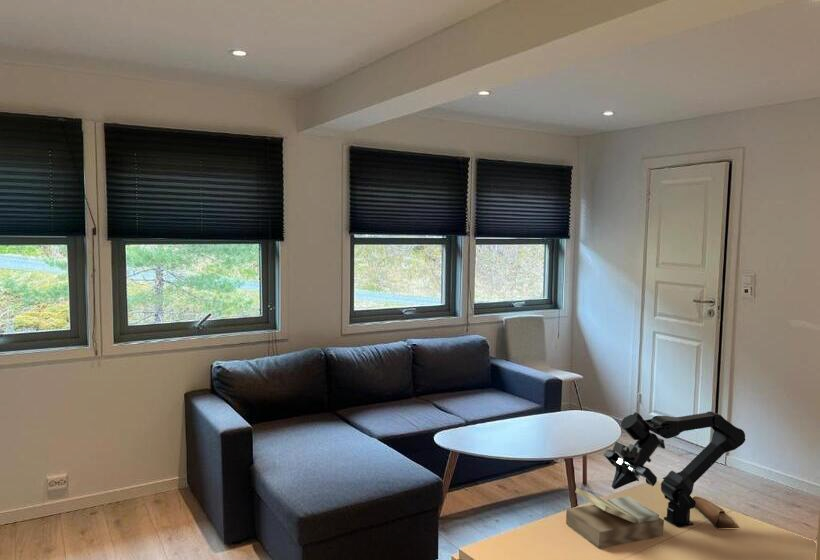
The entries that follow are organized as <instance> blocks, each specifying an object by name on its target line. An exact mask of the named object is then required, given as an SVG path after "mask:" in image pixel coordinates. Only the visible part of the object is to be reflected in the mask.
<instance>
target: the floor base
mask: <svg viewBox="0 0 820 560" xmlns="http://www.w3.org/2000/svg"><path fill="white" fill-rule="evenodd" d="M607 500H608V501H609V502H611V503H613V504H614V505H616V506H618V507H619V508H621V509H622V510H624V511H626V512H627V513H629V514H631V515H632V516H634V517H636V518H637V521H636V523H633V522H631V521H628V520H626V519H623V518H621V517H618V516H616V515H613V514H611V513H608V512H606V511H604V510H602V509H601V508H599V507H597V506H596V505H594V504H588V505H585V506H584V505H583V506H577V507H572V508H566V513H565V514H566V515H565V518H566V519H565V525H566V524H567V525H568V526H567V525H566V526H567V527H569V528H570V527H571V528H572V529H571V528H570V529H571V530H573V531H574V532H576V534H578V535H580V536H581V537H582V538H583V539H584V540H586V541H588V542H589V543H591V544H592V545H593V546H594V547H595V548H597V549H600V550H601V549H604V548H609V547H610V548H611V547H616V546H619V545H624V544H630V543H635V542H640V541H644V540H645V541H646V540H647V541H648V540H651V539H655V538H660V537H664V527H665V526H664V525H665V519H663V518H661V517H660V514H659V513H657V512H655V511H654V510H652V509H650V508H649V507H646V506H645V505H643V504H642V503H640V502H638V501H636V500H635V499H632V498H631V497H630V496H621V497H615V498H608V499H607Z"/></svg>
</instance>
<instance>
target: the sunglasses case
mask: <svg viewBox="0 0 820 560" xmlns="http://www.w3.org/2000/svg"><path fill="white" fill-rule="evenodd" d="M692 498H693V499H694V500H695V502H696V504H695V507H694V508H695V509H696V510H697V511H699V512H700V513H701V514H702V515H703V516H704V517H705V518H706V519H707V520H708V521H709V522H710V523H711V524H712V525H713V527H715V528H717V529H718V528H740V527H739V525H738V524H737V523H736V522H735V520H733V519H732V518H731V517H730V516H729V515H728V514H727V513H726V511H725V510H724V509H723V508H721V507H720V506H719V505H717V504H715V503H714V502H712V501H710V500H708V499H705V498H704V497H700V496H693V497H692ZM718 530H719V529H718Z"/></svg>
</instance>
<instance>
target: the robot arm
mask: <svg viewBox="0 0 820 560" xmlns="http://www.w3.org/2000/svg"><path fill="white" fill-rule="evenodd" d="M620 427H621V428H622V429H623V430H624V431H625V432H626V433H627V435H629V437H630V438H631V439H632V440H634V441H636V442H635V443H634V444H632V443H630V444H628V446H626V445H624V444H623V443H620V442H618V441H615V444H614V445H613V448H612V449H606V450H605V452H604V453H603V454H602V455H603V456H604V457H605V458H606V460H607V461H608V462H609V463H610V464H611V466H613V467H615V474H614V477H613V480H612V484H611V488H612V489H613V490H617V489H619V488H621V487H623V486H625V485H626V486H627V485H628V484H632V483H634V482H639V481H640V479H639V478H640V476H641V477H643V478H645V482H646V484H647V485H650V486H651V487H654V486H655V485H656V484H657V483H658V482H657V481H658V480H657V479H658V477H657V476H656V475H655V473H653V471H652V470H651V469H650V468H649V467H647V466H645V464H646V463H647V462H648V463H651V462H652V458H650V457H651V456H652V455H653V454H654V453H655V451H656V450H657V449H658V448H660V449H666V445H665V439H668V440H669V439H672V438H675V437H677V436H679V435H680V434H681V433H684V432H688V431H695V430H699V429H706V428H711V429H712V430H713V433H712V437H711V441H710V442H709V443H708V444H707V445H706V446H705V447H704V448H703V449H702V450H701V451H700V452H699V453H698V454H697V455H696V457H694V458H693V459H692V460H691V461H690V462H689V463H688V464H687V465H686V466H685V467H684V468H683V469H682V470H681V471H679V472H676V471H673V470H671V471H669V472H668V474H666V476H664V477H662V479H663V480H662V481H661V483H660V490H661V492H662V494H663V497H664V498H665V499H666V500H668V503H667V508H666V516H663V520H664V521H666V522H668V523H670V524H672V525H673V526H675V527H677V528H683V527H689V526H693V525H694V522H692V521H691V520H690V519H691V509H694V508H695V504H696V502H695V500H694V499H693V497H692V496H691V494H692V493H693V490H694V486H695V483H696V482H697V481H698V480H699V479H700V478H701V477H702V476H703V475H704V474H705V473H706V472H707V471H708V470H709V469H710V468H711V467H712V466H713V465H714V464H715V463H716V462H717V461H719V459H720V458H721V457H722V456H723V455H724V454H725V453H728V452H732V451H735V450H737V449H738V448H740V446H742V445H743V444H744V443H745V442H746V433H745V432H744V430H743V429H741V428H739V427H737V426H736V425H733V424H732V423H731V422H729V421H728V420H726V419H725V418H724V417H723V416H722V415H721V414H719V413H717V412H714V411H711V410H710V411H706V412H702V413H695V414H690V415H682V416H678V417H677V416H669V415H655V416H652V418H648V419H644V418H643V417H642V415H641V414H640V413H639V412H636V411H635V412H634V413H633V414H629V415H627V416H625V417H624V418H623V419H622V420H621V422H620ZM657 435H658V436H660V437H662V438H664V439H662V438H660V437H658V436H657Z"/></svg>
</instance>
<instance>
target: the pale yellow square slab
mask: <svg viewBox="0 0 820 560" xmlns="http://www.w3.org/2000/svg"><path fill="white" fill-rule="evenodd" d="M574 492H575V493H576V494H577V495H579V496H580V497H581V498H584V499H585V500H587V501H588V502H590V503H591V504H592V505H596V506H597V507H599V508H601V509H602V510H604V511H606V512H608V513H611V514H613V515H616V516H618V517H621V518H623V519H626V520H628V521H631V522H633V523H636V521H637V518H636V517H634V516H632V515H631V514H629V513H627V512H626V511H624V510H622V509H621V508H619V507H618V506H616V505H614V504H613V503H611V502H609V501H608V499H606V498H603V497H600V496H599V495H596V494H593V493H591V492H589V491H586V490H584V489H581V488H579V487H576V489H575V491H574Z"/></svg>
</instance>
